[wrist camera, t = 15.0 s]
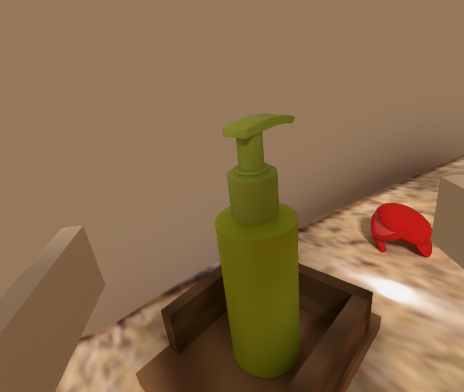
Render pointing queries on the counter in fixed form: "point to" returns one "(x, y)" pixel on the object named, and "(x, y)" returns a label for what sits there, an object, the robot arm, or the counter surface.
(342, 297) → the u rest
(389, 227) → the cap
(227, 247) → the soap dispenser
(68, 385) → the counter surface
